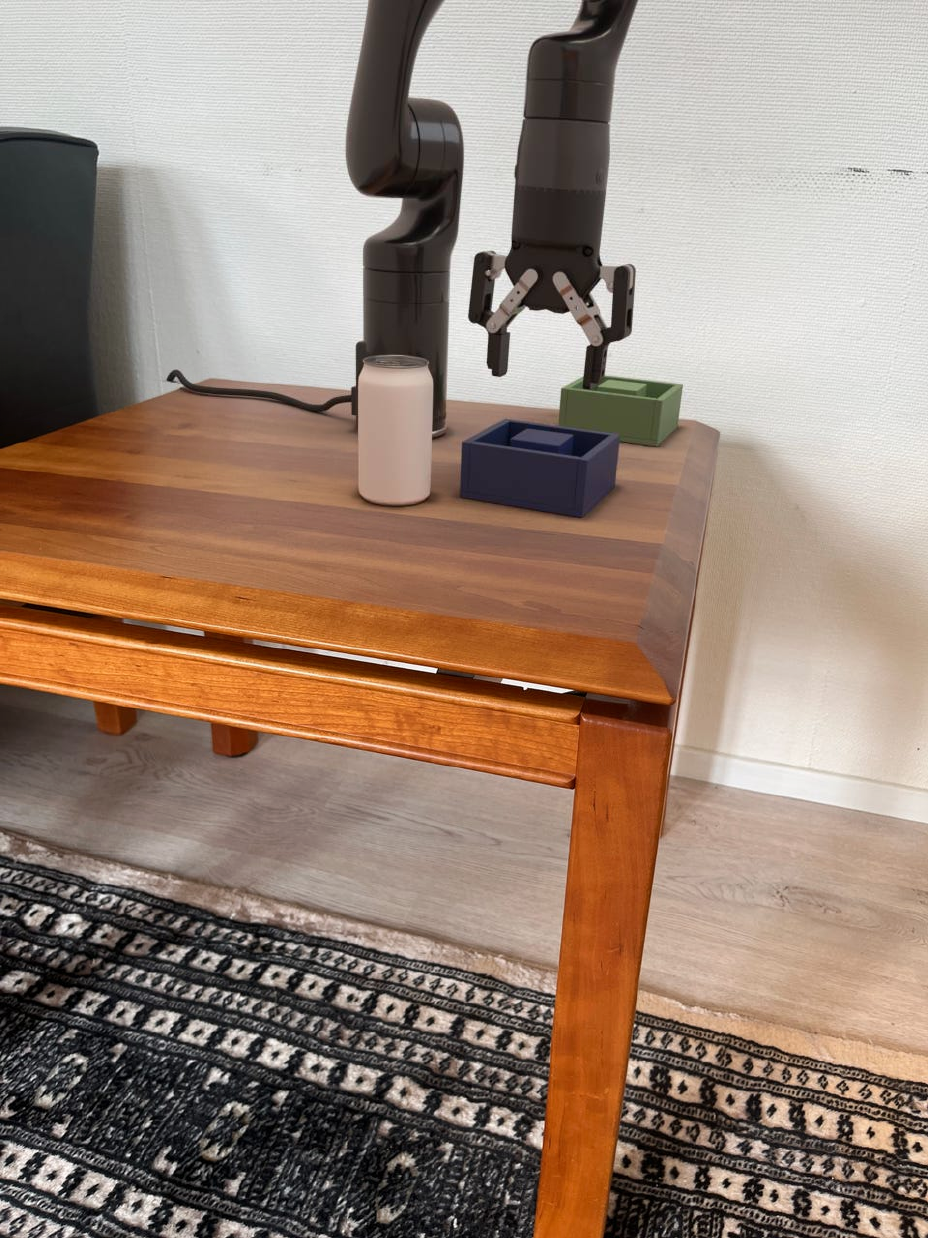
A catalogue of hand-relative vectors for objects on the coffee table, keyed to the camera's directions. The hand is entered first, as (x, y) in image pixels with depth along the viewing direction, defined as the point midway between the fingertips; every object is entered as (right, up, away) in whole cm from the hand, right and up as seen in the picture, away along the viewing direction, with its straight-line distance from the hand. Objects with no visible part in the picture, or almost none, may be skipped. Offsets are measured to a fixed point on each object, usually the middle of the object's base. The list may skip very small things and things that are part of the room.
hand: (543, 381), depth 88 cm
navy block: (0, -9, +4) cm, 10 cm away
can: (-13, -10, +1) cm, 17 cm away
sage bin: (+11, +1, +28) cm, 30 cm away
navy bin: (0, -9, +4) cm, 10 cm away
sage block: (+11, +2, +27) cm, 30 cm away
